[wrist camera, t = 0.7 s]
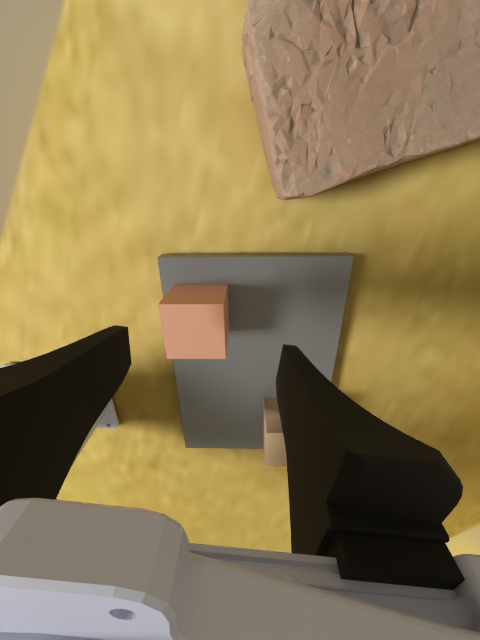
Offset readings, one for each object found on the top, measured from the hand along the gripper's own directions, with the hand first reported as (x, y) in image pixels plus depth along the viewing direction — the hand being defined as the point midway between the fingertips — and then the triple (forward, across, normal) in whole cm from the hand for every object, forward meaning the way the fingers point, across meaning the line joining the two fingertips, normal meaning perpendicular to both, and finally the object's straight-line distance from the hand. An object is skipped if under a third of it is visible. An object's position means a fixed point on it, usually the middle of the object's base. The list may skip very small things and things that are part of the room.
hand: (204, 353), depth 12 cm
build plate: (+10, -3, +7) cm, 12 cm away
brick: (+10, -9, -14) cm, 19 cm away
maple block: (+8, -7, +12) cm, 16 cm away
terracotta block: (+8, +1, +2) cm, 9 cm away
